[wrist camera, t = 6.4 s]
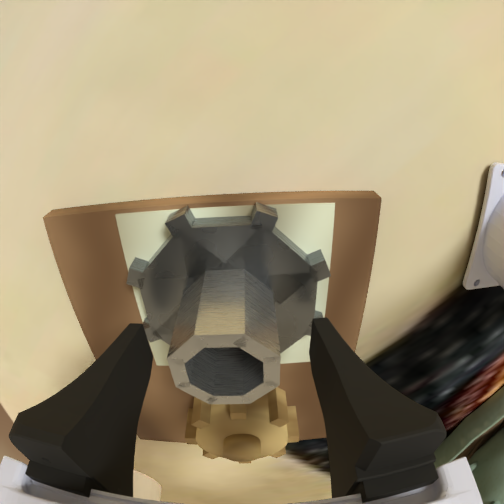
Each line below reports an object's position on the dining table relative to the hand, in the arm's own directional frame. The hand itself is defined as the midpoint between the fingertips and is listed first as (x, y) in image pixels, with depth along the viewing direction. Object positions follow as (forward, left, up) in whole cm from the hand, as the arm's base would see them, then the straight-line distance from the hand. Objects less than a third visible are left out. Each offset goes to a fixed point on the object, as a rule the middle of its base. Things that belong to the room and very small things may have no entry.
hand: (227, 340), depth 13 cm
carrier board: (+1, +5, -4) cm, 6 cm away
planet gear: (0, 0, -3) cm, 3 cm away
